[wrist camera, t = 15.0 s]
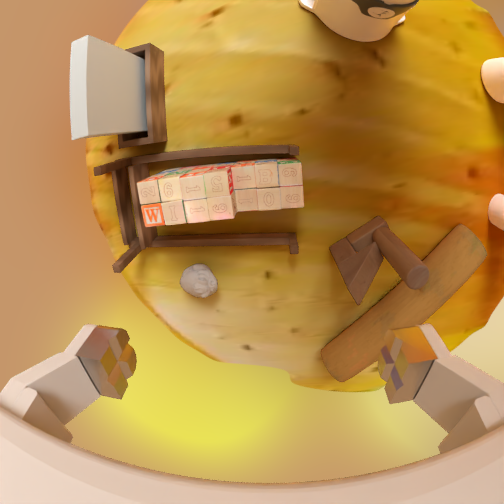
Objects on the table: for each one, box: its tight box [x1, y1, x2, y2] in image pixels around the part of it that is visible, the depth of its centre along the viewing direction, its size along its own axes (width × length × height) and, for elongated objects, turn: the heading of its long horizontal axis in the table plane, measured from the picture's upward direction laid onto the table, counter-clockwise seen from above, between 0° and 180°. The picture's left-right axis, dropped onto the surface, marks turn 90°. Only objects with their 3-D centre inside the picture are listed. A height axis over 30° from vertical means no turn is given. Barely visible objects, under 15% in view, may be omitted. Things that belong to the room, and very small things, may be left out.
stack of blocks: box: [137, 158, 304, 227], centre depth 39 cm, size 21×6×12 cm, turn 95°
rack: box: [94, 145, 299, 273], centre depth 41 cm, size 16×30×12 cm, turn 92°
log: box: [321, 224, 487, 382], centre depth 47 cm, size 38×10×10 cm, turn 139°
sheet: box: [70, 35, 148, 140], centre depth 30 cm, size 12×2×20 cm, turn 2°
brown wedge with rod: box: [329, 216, 429, 305], centre depth 39 cm, size 4×11×18 cm, turn 126°
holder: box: [118, 43, 167, 149], centre depth 37 cm, size 16×6×6 cm, turn 2°
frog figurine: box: [180, 264, 218, 298], centre depth 49 cm, size 6×7×7 cm
